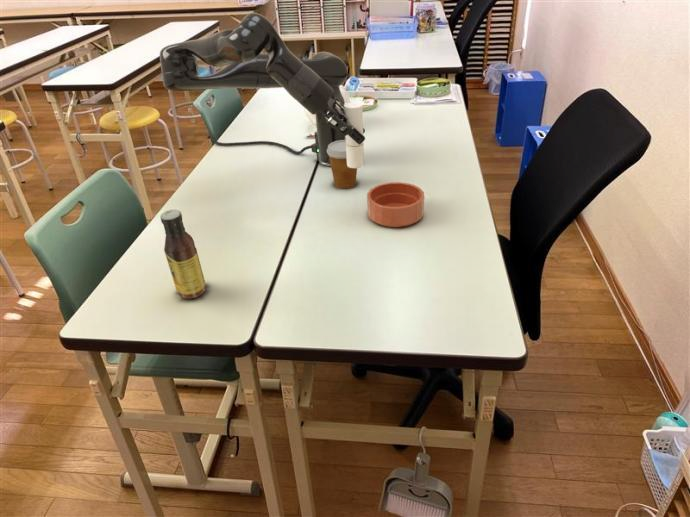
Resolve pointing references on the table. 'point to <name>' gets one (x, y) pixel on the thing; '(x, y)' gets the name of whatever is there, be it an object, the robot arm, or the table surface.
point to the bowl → (395, 204)
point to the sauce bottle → (182, 256)
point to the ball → (311, 116)
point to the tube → (352, 148)
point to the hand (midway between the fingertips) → (362, 137)
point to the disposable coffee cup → (341, 165)
